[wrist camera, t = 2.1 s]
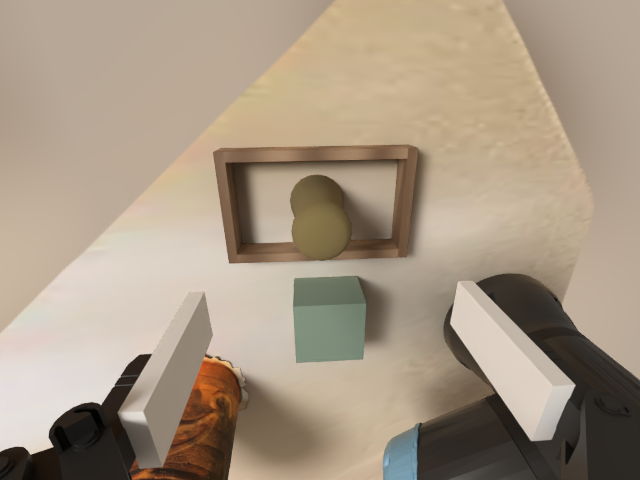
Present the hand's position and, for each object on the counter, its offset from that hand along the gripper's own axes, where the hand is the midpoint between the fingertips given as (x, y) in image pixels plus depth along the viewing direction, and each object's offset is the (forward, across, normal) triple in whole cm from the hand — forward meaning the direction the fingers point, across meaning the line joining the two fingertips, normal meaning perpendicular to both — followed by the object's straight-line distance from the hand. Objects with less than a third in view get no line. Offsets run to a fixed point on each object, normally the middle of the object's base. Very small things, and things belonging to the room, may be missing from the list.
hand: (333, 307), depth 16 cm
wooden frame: (+21, 0, 0) cm, 21 cm away
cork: (+21, 0, 0) cm, 21 cm away
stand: (+20, -1, +14) cm, 25 cm away
